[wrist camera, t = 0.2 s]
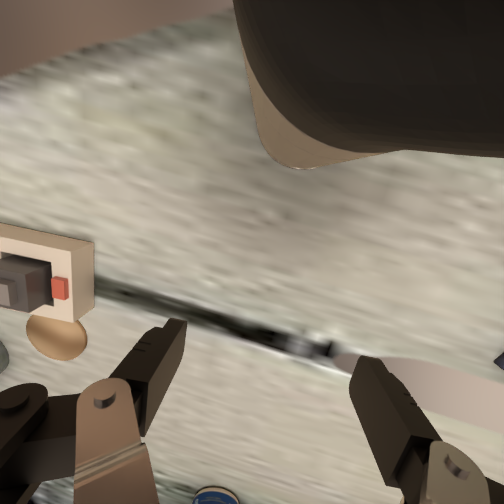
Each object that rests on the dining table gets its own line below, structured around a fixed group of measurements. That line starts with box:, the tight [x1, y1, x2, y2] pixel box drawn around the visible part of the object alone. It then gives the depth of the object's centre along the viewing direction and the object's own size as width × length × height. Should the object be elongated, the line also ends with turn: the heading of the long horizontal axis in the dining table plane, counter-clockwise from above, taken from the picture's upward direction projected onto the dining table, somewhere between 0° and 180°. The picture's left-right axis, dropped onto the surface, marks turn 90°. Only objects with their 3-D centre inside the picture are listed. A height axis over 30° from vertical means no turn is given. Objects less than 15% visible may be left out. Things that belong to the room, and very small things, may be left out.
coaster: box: [26, 315, 87, 361], centre depth 32 cm, size 8×8×1 cm
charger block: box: [0, 254, 54, 313], centre depth 27 cm, size 4×4×7 cm
